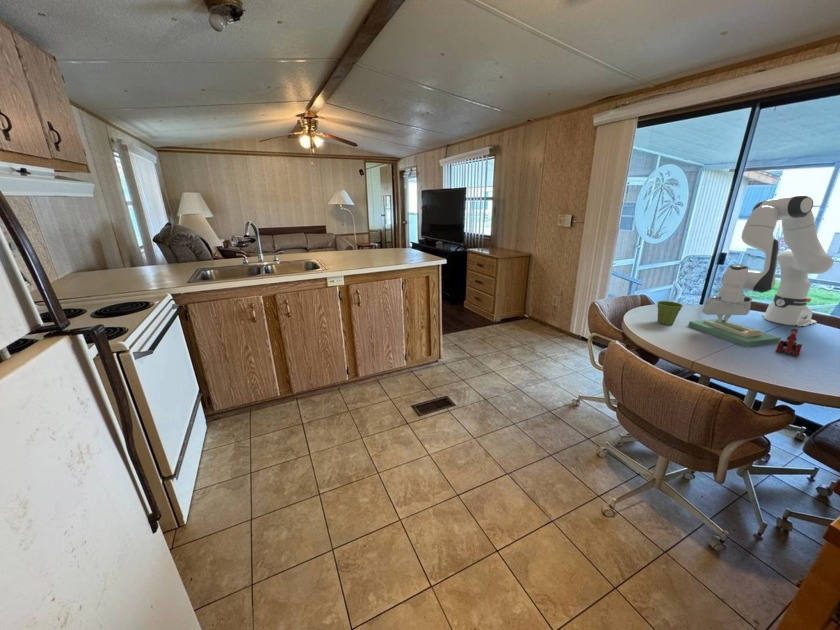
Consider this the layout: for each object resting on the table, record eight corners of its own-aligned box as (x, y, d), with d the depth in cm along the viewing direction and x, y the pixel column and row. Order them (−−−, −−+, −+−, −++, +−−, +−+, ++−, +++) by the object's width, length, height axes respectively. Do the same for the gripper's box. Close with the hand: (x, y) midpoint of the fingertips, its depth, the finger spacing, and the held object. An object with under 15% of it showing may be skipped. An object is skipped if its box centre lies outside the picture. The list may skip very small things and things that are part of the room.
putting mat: (688, 325, 180) (690, 316, 179) (718, 322, 184) (721, 313, 182) (744, 346, 154) (748, 335, 153) (778, 342, 158) (782, 332, 156)
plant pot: (683, 326, 180) (689, 306, 176) (661, 327, 180) (666, 307, 176) (668, 319, 191) (672, 300, 187) (647, 319, 191) (651, 300, 187)
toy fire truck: (800, 350, 150) (808, 329, 146) (797, 358, 142) (806, 336, 139) (778, 345, 155) (786, 325, 152) (774, 353, 148) (782, 331, 144)
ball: (739, 329, 165) (746, 329, 161) (747, 333, 165) (755, 332, 161) (736, 337, 165) (743, 336, 161) (745, 340, 164) (752, 339, 160)
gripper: (712, 298, 166) (704, 324, 171) (756, 298, 165) (747, 324, 169) (703, 295, 172) (696, 320, 177) (745, 295, 171) (737, 320, 175)
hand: (721, 322), depth 173 cm, fingers closed
